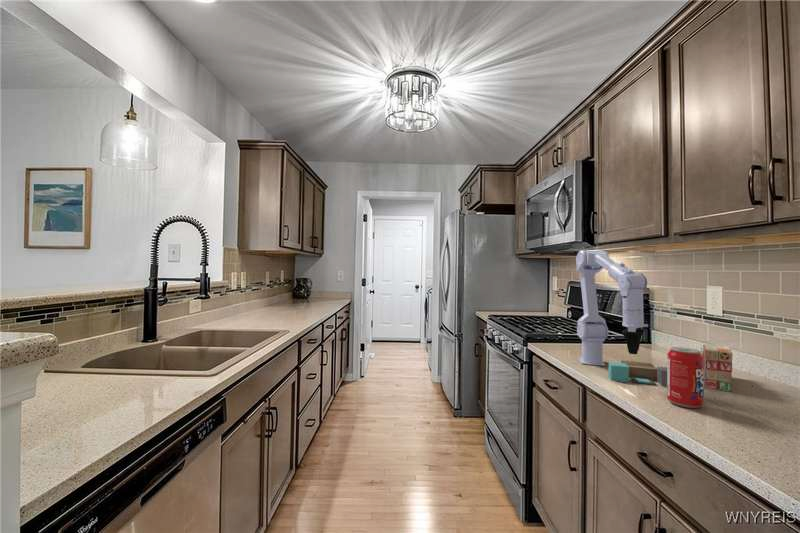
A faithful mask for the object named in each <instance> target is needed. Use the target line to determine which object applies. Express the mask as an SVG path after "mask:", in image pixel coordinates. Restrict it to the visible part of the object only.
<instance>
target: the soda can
mask: <svg viewBox="0 0 800 533" xmlns="http://www.w3.org/2000/svg"><path fill="white" fill-rule="evenodd" d="M666 355H667V358H666V359H667V360H666V363H667V364H666V367H667V386H666V398H667V400H668V401H669V402H671V403H672V404H673V405H676V406H677V407H682V408H687V409H697V408H701V407H703V406H704V403H705V399H704V398H705V397H704V396H705V392H704V391H705V389H704V388H705V385H704V357H703V356H702V355H701V350H698V349H695V348H689V347H682V346H679V347H678V346H672V347H670V350H669V351H668V352H667V354H666Z"/></svg>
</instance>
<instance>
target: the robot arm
mask: <svg viewBox="0 0 800 533" xmlns="http://www.w3.org/2000/svg"><path fill="white" fill-rule="evenodd" d="M575 262H576V272H578V273H579V277H580V278H579V279H580V287H581V288H580V289H581V298H582V308H583V315H582V316H581V317H580V318H578V320H577V325H576V326H577V328H576V334H577V337H579V339H580V340H581V356H580V357H579V361H580V363H581V364H582V365H591V366H600V367H605V366H606V364H605V362H604V361H603V357H604V356H603V355H604V354H603V353H604V352H603V351H604V347H603V346H604V345H603V344H604V342H605V341H606V339H607V338H608V336H609V327H608V326H607V322H606V319H605V318H603V317H602V316H601V315H600V314H599V305H598V297H597V287H596V279H595V277H596V276H595V275H596V274H597V273H600V272H601V271H602V270H603V269H605V270H606V271H608V272H607V274H608V276H609V277H610V278H611V279H613V280H614V281H615V282H617V286H618V289H619V291H620V292H619V294H620V296H621V297H622V324H621V325H622V327H625V328H624V329H623V330H621V334H622V335H623V337H624V341H625V342H626V347H627V352H628V354H629V355H638V352H639V350H640V345H641V340H642V336H643V335H644V332H645V329H644V328H648V327H649V324H647V323H646V324H645V323H644V322H645V321H644V320H645V319H644V317H645V316H644V291H645V290H646V289H647V286H648V278H647V277H646V275H645V274H644V273H642V272H639V273H635V272H634V271H633V270H632V269H631V268H628V267H627V266H626V265H625V263H623V262H615V261H614V260H613V259H612V258H611V257H610V256H609V253H608V252H607V251H605V250H579V251H578V252H577V254H576V257H575Z"/></svg>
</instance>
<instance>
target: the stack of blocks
mask: <svg viewBox="0 0 800 533" xmlns="http://www.w3.org/2000/svg"><path fill="white" fill-rule="evenodd" d="M700 351H701V355H702V356H703V357H704V388H705V389H711V390H717V391H721V392H729V393H732V390H733V388H732V387H733V382H732V381H733V380H732V378H733V376H732V373H733V352H732V350H731V348H730V347H729V346H728V345H725V344H715V343H713V344H712V343H706V342H705V343H702V347H700Z"/></svg>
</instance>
